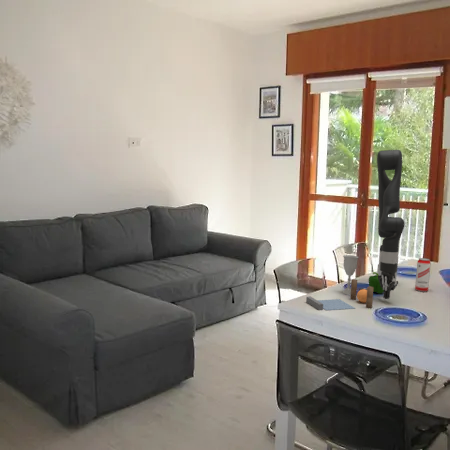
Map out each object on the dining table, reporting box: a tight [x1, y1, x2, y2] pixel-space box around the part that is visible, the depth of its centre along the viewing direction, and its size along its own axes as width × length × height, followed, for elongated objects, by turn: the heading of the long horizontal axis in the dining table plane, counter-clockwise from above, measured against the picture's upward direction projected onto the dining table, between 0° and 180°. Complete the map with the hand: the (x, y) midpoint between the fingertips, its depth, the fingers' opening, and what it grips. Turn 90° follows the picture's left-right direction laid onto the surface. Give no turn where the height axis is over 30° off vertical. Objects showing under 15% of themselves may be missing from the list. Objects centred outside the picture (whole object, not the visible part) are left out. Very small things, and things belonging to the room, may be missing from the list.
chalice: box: [342, 254, 360, 296], centre depth 238 cm, size 7×7×18 cm
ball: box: [356, 288, 367, 304], centre depth 224 cm, size 6×6×6 cm
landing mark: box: [316, 298, 356, 311], centre depth 219 cm, size 14×14×1 cm
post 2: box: [365, 285, 374, 309], centre depth 216 cm, size 3×3×9 cm
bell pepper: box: [368, 271, 384, 294], centre depth 242 cm, size 8×8×10 cm
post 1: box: [349, 278, 358, 301], centre depth 229 cm, size 3×3×9 cm
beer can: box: [414, 257, 431, 293], centre depth 248 cm, size 6×6×16 cm
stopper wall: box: [305, 296, 324, 311], centre depth 217 cm, size 12×2×2 cm, turn 16°
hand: (386, 298), depth 227 cm, fingers closed
